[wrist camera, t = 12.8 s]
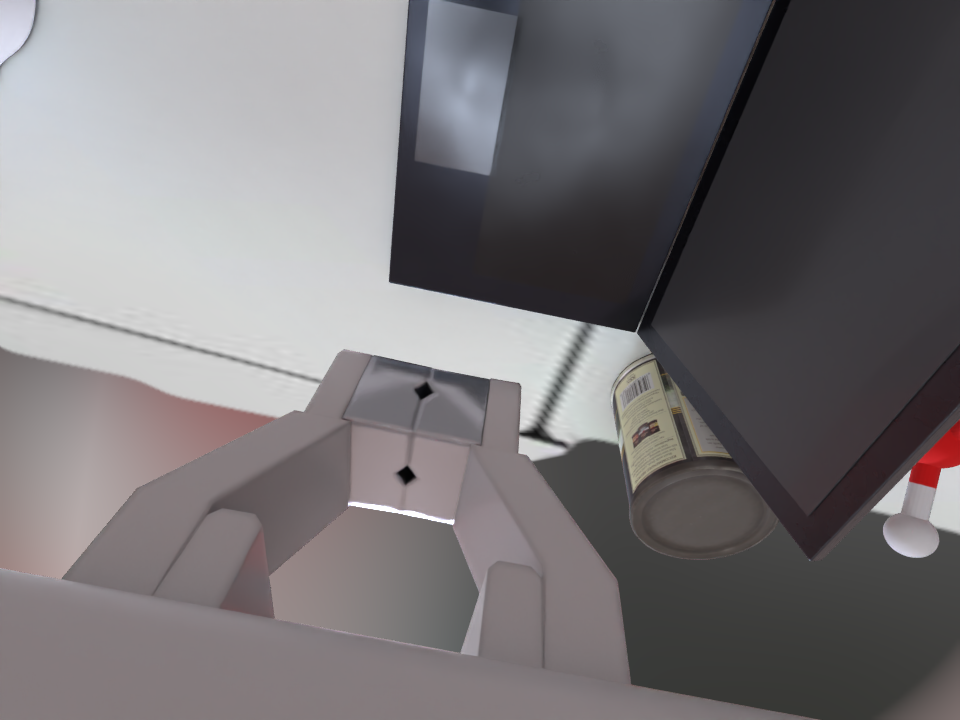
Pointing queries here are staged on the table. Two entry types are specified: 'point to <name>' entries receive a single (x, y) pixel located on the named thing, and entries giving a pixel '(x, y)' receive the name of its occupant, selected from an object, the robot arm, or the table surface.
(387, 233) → the table surface
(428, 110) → the laptop
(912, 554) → the molecular model
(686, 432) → the coffee can
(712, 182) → the laptop screen
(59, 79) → the table surface
